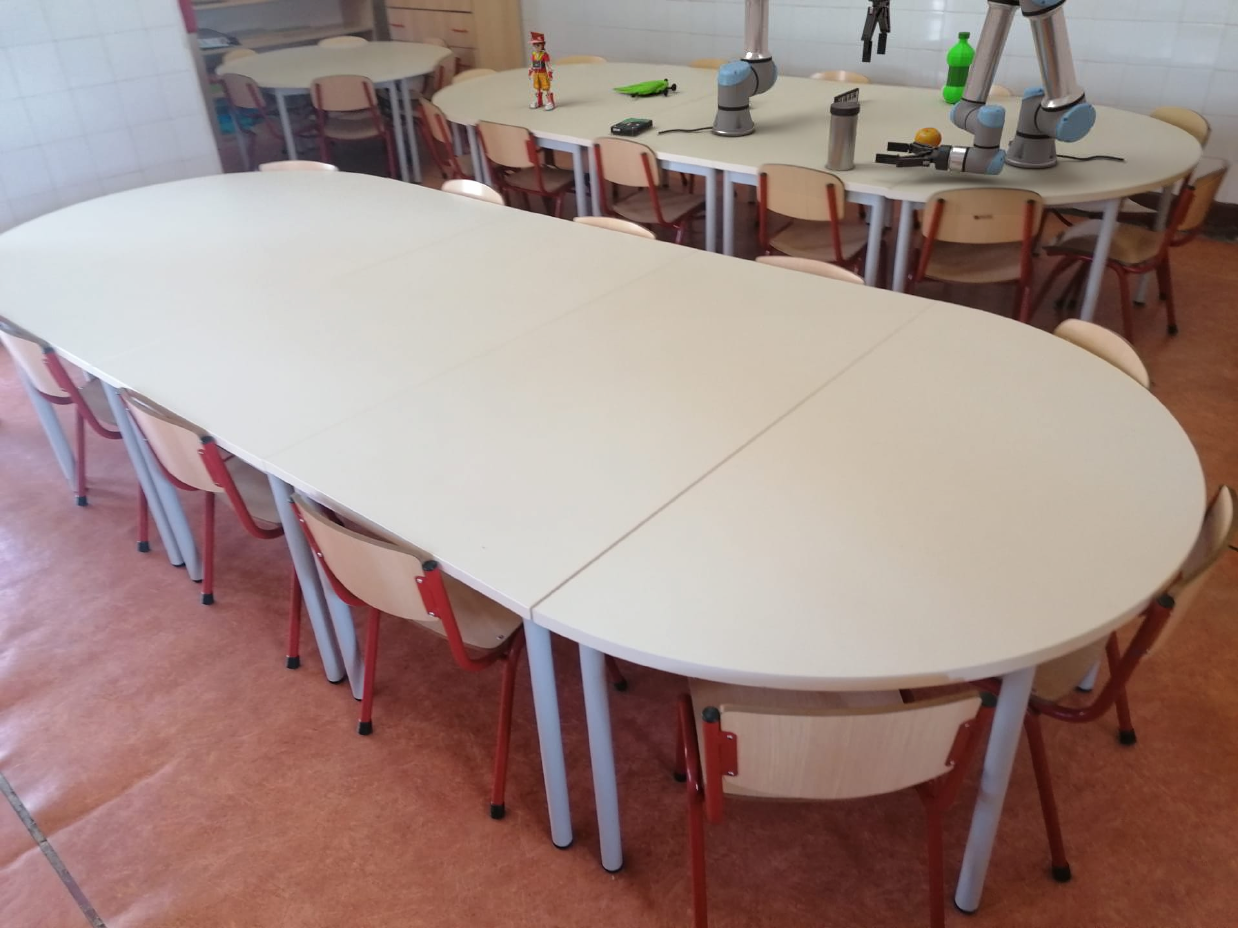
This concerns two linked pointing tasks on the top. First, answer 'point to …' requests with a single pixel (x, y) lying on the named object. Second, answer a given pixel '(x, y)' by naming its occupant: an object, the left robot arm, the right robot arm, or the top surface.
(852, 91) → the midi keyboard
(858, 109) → the lid
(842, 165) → the jar
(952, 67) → the plastic bottle
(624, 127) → the disk drive
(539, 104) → the toy
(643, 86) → the toy
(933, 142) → the fruit
